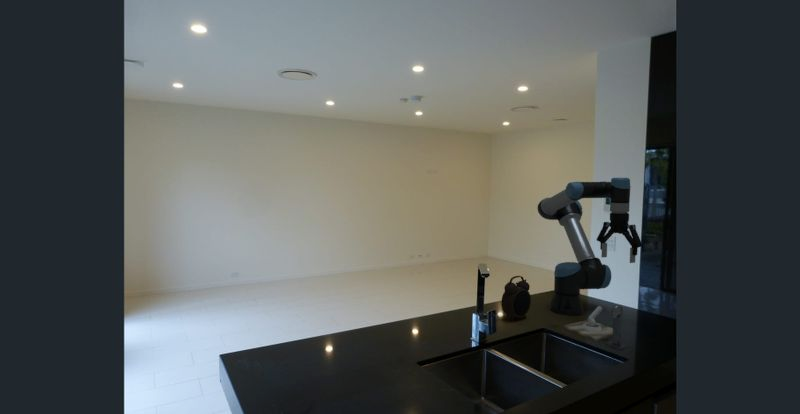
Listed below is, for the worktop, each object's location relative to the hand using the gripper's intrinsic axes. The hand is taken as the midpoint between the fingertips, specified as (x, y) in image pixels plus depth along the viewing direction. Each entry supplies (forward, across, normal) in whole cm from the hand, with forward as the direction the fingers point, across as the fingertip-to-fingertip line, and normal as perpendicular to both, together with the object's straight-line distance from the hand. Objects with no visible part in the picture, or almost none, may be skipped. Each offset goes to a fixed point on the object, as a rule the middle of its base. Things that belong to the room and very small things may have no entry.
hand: (617, 259), depth 181 cm
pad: (+29, -2, +18) cm, 34 cm away
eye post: (+28, -17, +23) cm, 41 cm away
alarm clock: (+29, +24, +36) cm, 52 cm away
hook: (+28, -2, +18) cm, 33 cm away
